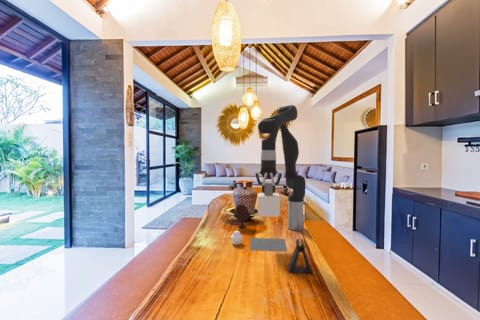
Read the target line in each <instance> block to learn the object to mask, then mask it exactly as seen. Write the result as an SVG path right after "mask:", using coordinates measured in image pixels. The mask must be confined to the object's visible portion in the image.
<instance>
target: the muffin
mask: <svg viewBox="0 0 480 320" xmlns="http://www.w3.org/2000/svg"><path fill="white" fill-rule="evenodd" d="M243 237H244V236H243V235H242V234H241V232H240V231H239V230H235V231H233V233H232V234H231V236H230V240H231V242H232V244H233V245H236V246H237V245H240V244H241V243H242V241H243Z"/></svg>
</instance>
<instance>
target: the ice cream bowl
mask: <svg viewBox="0 0 480 320" xmlns="http://www.w3.org/2000/svg"><path fill="white" fill-rule="evenodd" d="M251 215H252V212H251V211H250V210H249V209H248V207H247V206H246V205H245V204H243V203H238V204H237V205H236V207H235V211H233V216H234V218H235V219H236V220H238V221H240V224H239V225H238V226H237V228H238V229H246V228H247V225H245V221H247V220H248V219H250V217H251Z"/></svg>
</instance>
